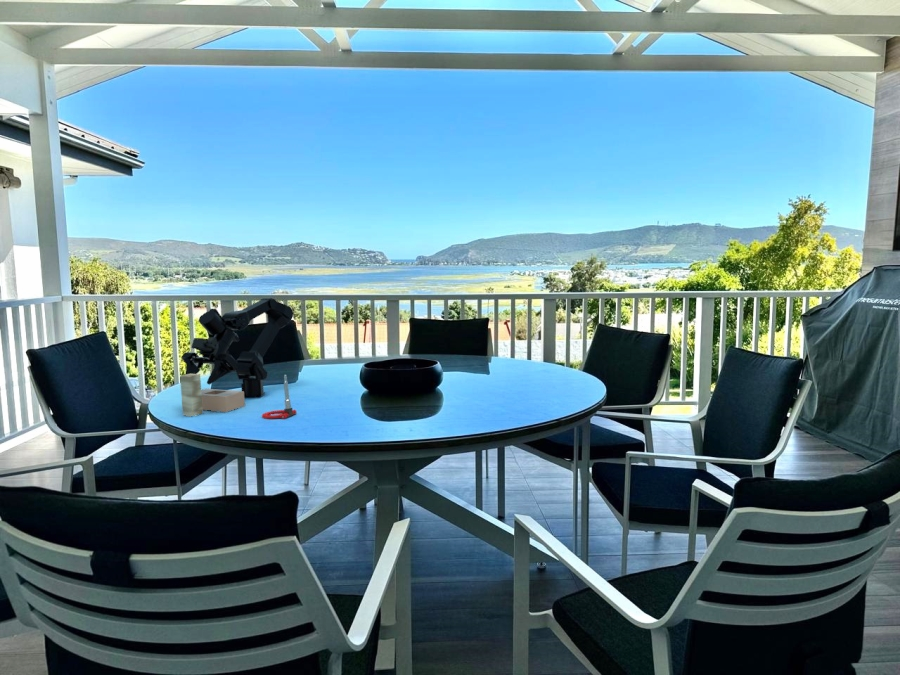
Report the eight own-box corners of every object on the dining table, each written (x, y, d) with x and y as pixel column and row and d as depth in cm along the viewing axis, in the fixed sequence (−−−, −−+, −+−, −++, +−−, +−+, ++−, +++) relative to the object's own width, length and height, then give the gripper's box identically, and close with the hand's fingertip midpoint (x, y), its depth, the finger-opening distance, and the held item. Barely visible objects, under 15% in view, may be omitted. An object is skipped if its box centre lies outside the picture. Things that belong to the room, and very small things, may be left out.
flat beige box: (207, 403, 197) (206, 388, 196) (244, 406, 191) (243, 391, 190) (187, 408, 189) (186, 393, 188) (226, 412, 183) (225, 396, 183)
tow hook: (256, 420, 175) (283, 420, 172) (252, 377, 173) (279, 377, 171) (272, 413, 183) (298, 413, 180) (268, 372, 181) (294, 372, 179)
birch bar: (193, 412, 183) (190, 373, 182) (202, 413, 182) (200, 374, 180) (183, 415, 180) (180, 375, 178) (192, 416, 178) (190, 376, 177)
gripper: (183, 327, 188) (157, 366, 179) (229, 328, 182) (204, 369, 173) (203, 348, 197) (180, 386, 188) (248, 350, 190) (225, 390, 181)
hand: (196, 382), depth 182 cm, fingers open, 9 cm apart
